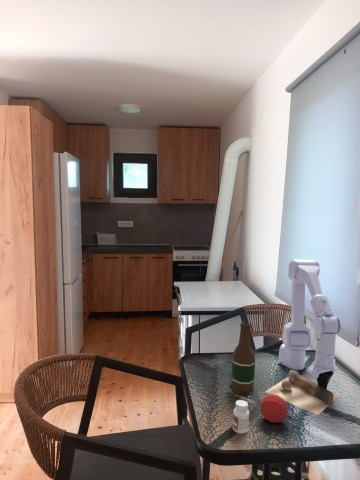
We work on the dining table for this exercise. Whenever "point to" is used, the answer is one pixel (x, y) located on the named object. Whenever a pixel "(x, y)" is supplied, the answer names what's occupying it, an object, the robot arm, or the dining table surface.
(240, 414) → the pill bottle
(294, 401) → the board
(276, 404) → the red round piece
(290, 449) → the dining table surface
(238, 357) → the beer bottle
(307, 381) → the lever
